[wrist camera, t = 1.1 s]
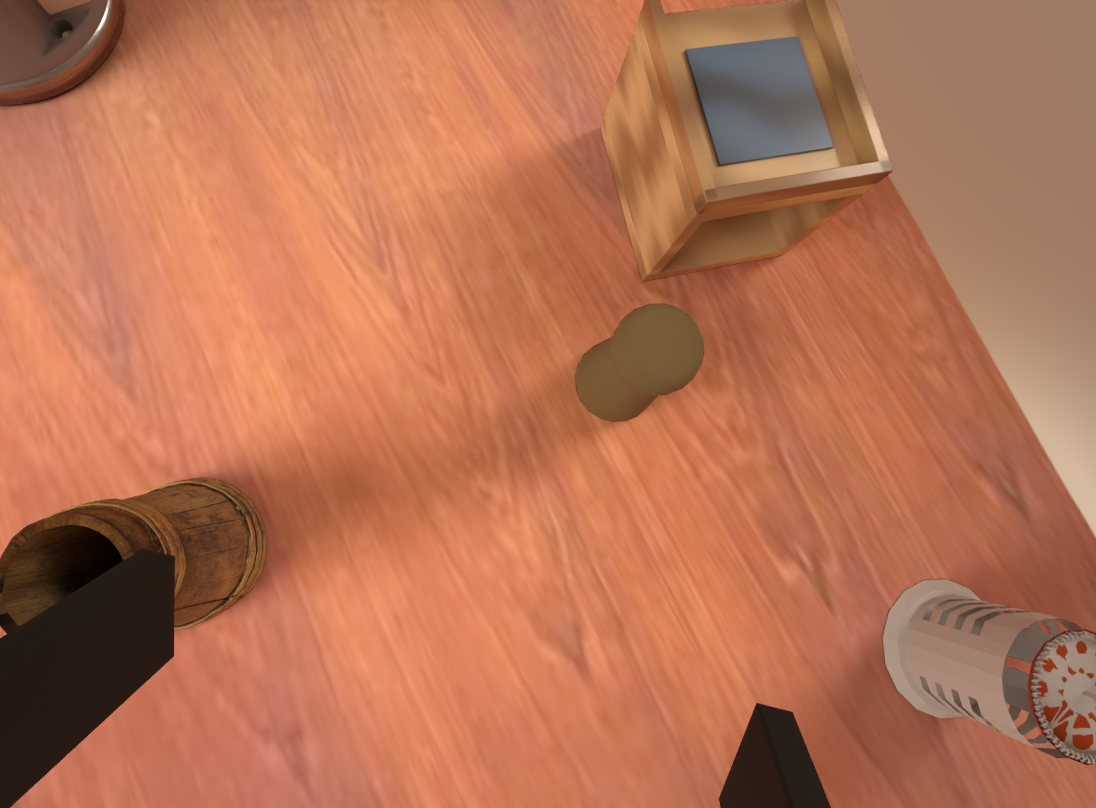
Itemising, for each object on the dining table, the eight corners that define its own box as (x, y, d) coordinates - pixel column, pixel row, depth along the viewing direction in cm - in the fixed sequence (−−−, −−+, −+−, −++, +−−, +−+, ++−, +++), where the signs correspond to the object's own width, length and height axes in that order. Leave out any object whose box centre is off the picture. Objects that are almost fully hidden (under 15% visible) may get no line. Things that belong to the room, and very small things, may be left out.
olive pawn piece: (643, 334, 41) (704, 279, 30) (664, 412, 40) (733, 384, 29) (566, 349, 40) (600, 298, 29) (585, 429, 39) (628, 407, 28)
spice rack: (600, 127, 43) (646, -5, 32) (737, 108, 45) (828, -23, 34) (641, 282, 42) (706, 202, 30) (782, 255, 44) (893, 170, 32)
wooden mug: (19, 532, 34) (-486, 582, 16) (246, 460, 36) (25, 433, 18) (53, 676, 33) (-441, 896, 15) (284, 592, 35) (91, 698, 17)
